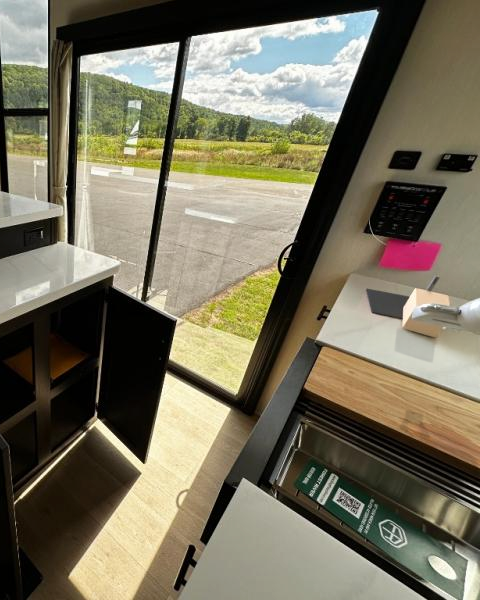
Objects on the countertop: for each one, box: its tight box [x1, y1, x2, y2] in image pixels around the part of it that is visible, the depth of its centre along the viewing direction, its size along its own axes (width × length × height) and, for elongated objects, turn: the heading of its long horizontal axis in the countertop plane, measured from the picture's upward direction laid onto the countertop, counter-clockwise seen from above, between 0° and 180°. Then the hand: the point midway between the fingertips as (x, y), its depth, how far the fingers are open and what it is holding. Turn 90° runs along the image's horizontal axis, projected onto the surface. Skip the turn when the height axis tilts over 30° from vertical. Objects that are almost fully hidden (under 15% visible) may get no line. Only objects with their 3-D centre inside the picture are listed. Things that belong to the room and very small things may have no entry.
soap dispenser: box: [401, 274, 451, 339], centre depth 109 cm, size 13×9×22 cm
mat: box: [365, 288, 410, 321], centre depth 120 cm, size 14×20×1 cm
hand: (450, 327), depth 88 cm, fingers closed
